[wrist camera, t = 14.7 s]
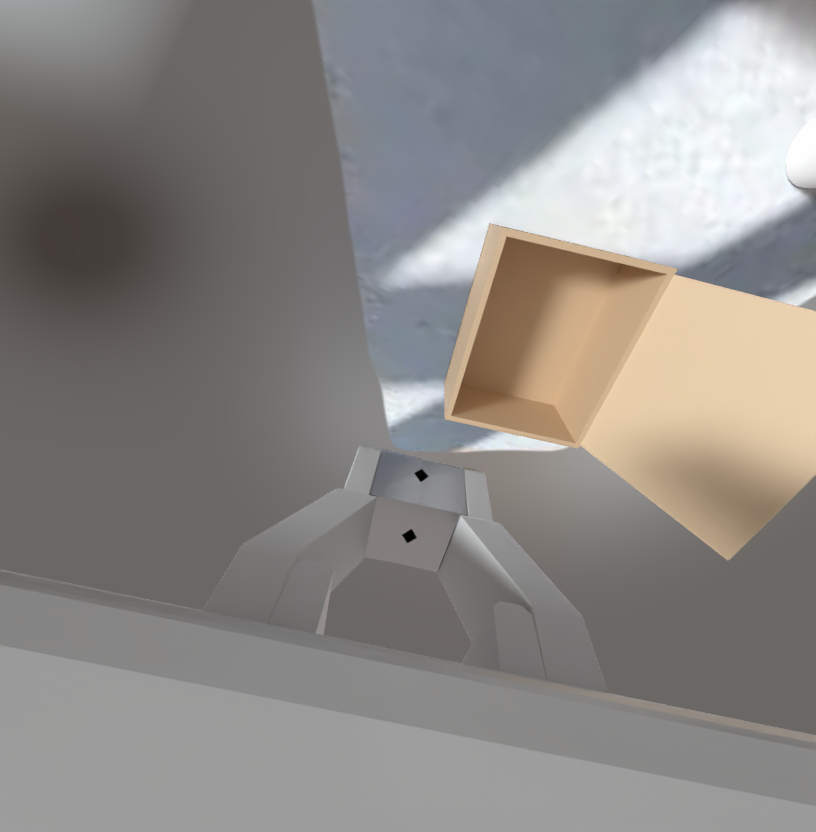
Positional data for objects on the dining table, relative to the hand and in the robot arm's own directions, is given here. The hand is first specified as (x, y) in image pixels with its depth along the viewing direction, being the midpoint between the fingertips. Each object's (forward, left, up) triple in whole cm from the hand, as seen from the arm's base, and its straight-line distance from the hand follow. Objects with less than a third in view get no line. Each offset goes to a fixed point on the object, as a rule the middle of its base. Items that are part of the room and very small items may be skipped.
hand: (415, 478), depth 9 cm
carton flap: (+16, +20, -22) cm, 33 cm away
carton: (+10, +9, -39) cm, 41 cm away
